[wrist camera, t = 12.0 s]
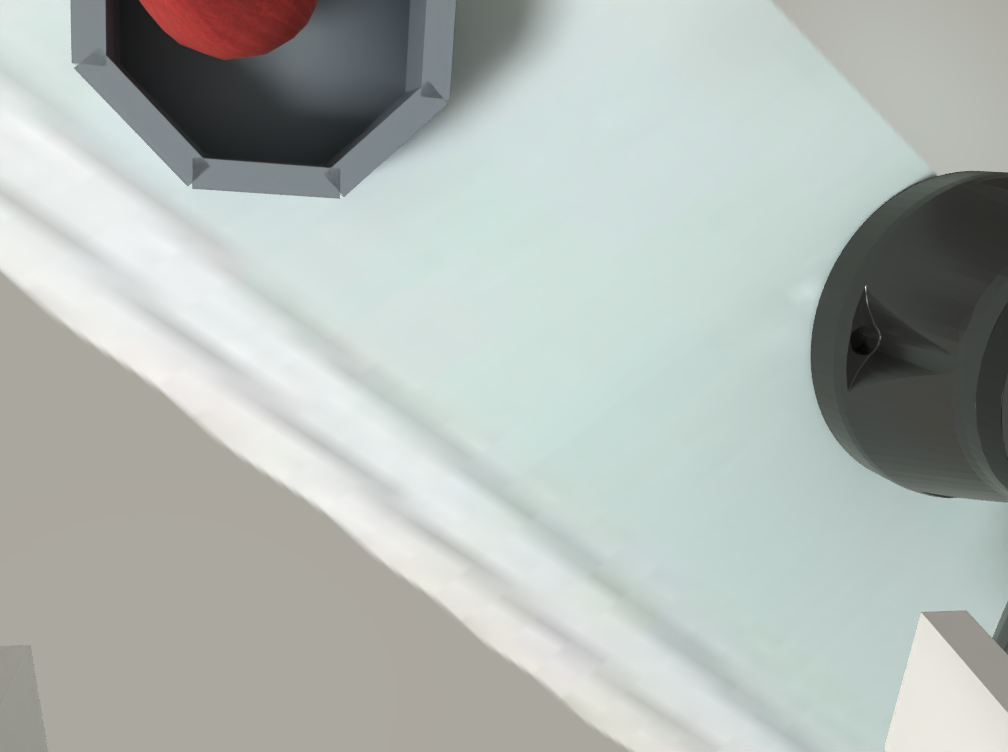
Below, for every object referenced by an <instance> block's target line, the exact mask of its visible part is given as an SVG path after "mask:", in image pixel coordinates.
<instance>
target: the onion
mask: <svg viewBox="0 0 1008 752" xmlns="http://www.w3.org/2000/svg"><path fill="white" fill-rule="evenodd" d="M139 1H140V2H141V4H142V5H143V6H144V8H145V9H146V10H147V12H148V13H149V14H150V15H151V16H152V18H153V19H154V20H155V21H156V22H157V23H158V25H159V26H160V27H161V28H162V29H163V30H164V31H165V32H166V33H167V34H168V35H170V36H171V37H172V38H173V39H174V40H176V41H177V42H178V43H179V44H181V45H184V46H186V47H189V48H191V49H194V50H197V51H199V52H202V53H204V54H207V55H210V56H213V57H216V58H220V59H223V60H229V59H237V58H244V57H252V56H258V55H264V54H267V53H269V52H271V51H273V50H274V49H276V48H278V47H279V46H281V45H283V44H284V43H286V42H288V41H290V40H291V39H293V38H294V37H295V36H296V35H297V34H298V33H299V32H300V31H301V30H302V29H303V28H304V27H305V26H306V25H307V24H308V22H309V20H310V18H311V16H312V14H313V11H314V9H315V7H316V5H317V2H318V0H139Z"/></svg>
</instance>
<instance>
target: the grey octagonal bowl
mask: <svg viewBox="0 0 1008 752" xmlns="http://www.w3.org/2000/svg"><path fill="white" fill-rule="evenodd" d="M455 10H456V0H318V2H317V5H316V7H315V9H314V11H313V14H312V16H311V18H310V20H309V22H308V24H307V25H306V26H305V27H304V28H303V29H302V30H301V31H300V32H299V33H298V34H297V35H296V36H295V37H294V38H293V39H291V40H290V41H288V42H286V43H284V44H283V45H281V46H279V47H278V48H276V49H274V50H273V51H271V52H269V53H267V54H264V55H258V56H252V57H244V58H237V59H229V60H223V59H220V58H216V57H213V56H210V55H207V54H204V53H202V52H199V51H197V50H194V49H191V48H189V47H186V46H184V45H181V44H179V43H178V42H177V41H176V40H174V39H173V38H172V37H171V36H170V35H168V34H167V33H166V32H165V31H164V30H163V29H162V28H161V27H160V26H159V25H158V23H157V22H156V21H155V20H154V19H153V18H152V16H151V15H150V14H149V13H148V12H147V10H146V9H145V8H144V6H143V5H142V4H141V2H140V1H139V0H71V49H72V63H73V64H76V65H77V66H76V67H75V68H74V69H75V70H76V71H77V72H78V73H79V74H80V75H81V76H82V77H83V78H84V79H85V80H86V81H87V82H88V83H89V84H90V85H91V86H92V87H93V88H94V89H95V90H96V92H97V93H98V94H99V95H100V96H101V97H102V98H103V99H104V100H105V101H106V102H107V103H108V104H109V105H110V106H111V107H112V108H113V109H114V110H115V111H116V112H117V113H118V114H119V115H120V116H121V118H122V119H123V120H124V121H125V122H126V123H127V124H128V125H129V126H130V127H131V128H132V129H133V130H134V131H135V132H136V133H137V134H138V135H139V136H140V137H141V138H142V139H143V140H144V141H145V142H146V144H147V145H148V146H149V147H150V148H151V149H152V150H153V151H154V152H155V153H156V154H157V155H158V156H159V157H160V158H161V159H162V160H163V161H164V162H165V163H166V164H167V165H168V166H169V167H170V168H171V170H172V171H173V172H174V173H175V174H176V175H177V176H178V177H179V178H180V179H181V180H182V181H183V182H184V183H185V184H186V185H187V186H189V185H190V184H192V189H206V190H221V191H235V192H250V193H265V194H280V195H295V196H309V197H324V198H339V199H340V195H342V196H343V197H345V196H346V195H347V194H348V193H349V192H350V191H351V190H352V189H353V188H355V187H356V186H357V185H358V184H359V183H360V182H361V181H362V180H363V179H365V178H366V177H367V176H368V175H369V174H370V173H371V172H372V171H373V170H375V169H376V168H377V167H378V166H379V165H380V164H381V163H382V162H383V161H385V160H386V159H387V158H388V157H389V156H390V155H391V154H392V153H394V152H395V151H396V150H397V149H398V148H399V147H400V146H401V145H402V144H404V143H405V142H406V141H407V140H408V139H409V138H410V137H411V136H412V135H414V134H415V133H416V132H417V131H418V130H419V129H420V128H421V127H422V126H424V125H425V124H426V123H427V122H428V121H429V120H430V119H431V118H432V117H434V116H435V115H436V114H437V113H438V112H439V111H440V110H441V109H443V108H444V107H445V106H446V105H447V102H446V101H445V100H450V87H451V71H452V56H453V41H454V25H455Z"/></svg>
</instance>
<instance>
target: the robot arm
mask: <svg viewBox="0 0 1008 752" xmlns="http://www.w3.org/2000/svg"><path fill="white" fill-rule="evenodd" d="M811 371H812V379H813V385H814V390H815V394H816V398H817V401H818V405H819V407H820V410H821V413H822V415H823V417H824V419H825V422H826V424H827V425H828V427H829V429H830V431H831V432H832V434H833V435H834V437H835V438H836V440H837V441H838V442H839V444H840V445H841V446H842V447H843V448H844V449H845V450H846V451H847V452H848V453H849V455H851V456H852V457H853V458H854V459H855V460H856V461H858V462H859V463H860V464H862V465H863V466H865V467H866V468H868V469H870V470H871V471H873V472H875V473H877V474H879V475H881V476H882V477H884V478H886V479H888V480H890V481H892V482H894V483H896V484H897V485H900V486H902V487H904V488H906V489H909V490H912V491H915V492H918V493H921V494H925V495H929V496H935V497H942V498H968V499H977V500H986V501H996V502H1008V173H1003V172H984V171H964V172H956V173H949V174H945V175H941V176H937V177H934V178H931V179H928V180H925V181H923V182H921V183H919V184H916V185H914V186H912V187H910V188H909V189H907V190H905V191H903V192H902V193H900V194H898V195H897V196H895V197H894V198H892V199H891V200H890V201H888V202H887V203H886V204H884V205H883V206H882V207H881V208H880V209H878V210H877V211H876V212H875V213H874V214H873V215H872V216H871V217H870V218H869V219H868V220H867V221H866V222H865V223H864V224H863V225H862V226H861V227H860V228H859V229H858V231H857V232H856V233H855V234H854V236H853V237H852V238H851V239H850V241H849V242H848V244H847V245H846V247H845V248H844V249H843V251H842V253H841V254H840V256H839V258H838V259H837V261H836V263H835V265H834V267H833V268H832V270H831V272H830V274H829V277H828V279H827V281H826V284H825V286H824V289H823V291H822V294H821V297H820V300H819V304H818V307H817V311H816V315H815V320H814V325H813V332H812V341H811ZM884 749H885V750H886V752H1008V602H1007V604H1006V606H1005V609H1004V611H1003V614H1002V616H1001V618H1000V621H999V623H998V626H997V628H996V630H995V633H994V635H993V638H992V637H991V636H990V635H989V634H988V633H987V632H986V631H985V630H984V629H983V628H982V627H981V626H980V625H979V623H978V622H977V621H976V620H975V619H974V618H973V617H972V616H971V615H970V614H969V613H968V612H967V611H939V612H921V615H920V619H919V622H918V626H917V630H916V633H915V637H914V641H913V644H912V648H911V652H910V655H909V659H908V663H907V666H906V670H905V674H904V677H903V681H902V685H901V688H900V692H899V696H898V699H897V703H896V707H895V710H894V714H893V718H892V721H891V725H890V729H889V732H888V736H887V740H886V743H885V747H884ZM0 752H48V748H47V742H46V736H45V730H44V724H43V718H42V712H41V706H40V700H39V694H38V688H37V682H36V676H35V670H34V664H33V658H32V653H31V646H30V645H17V646H16V645H15V646H0Z"/></svg>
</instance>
